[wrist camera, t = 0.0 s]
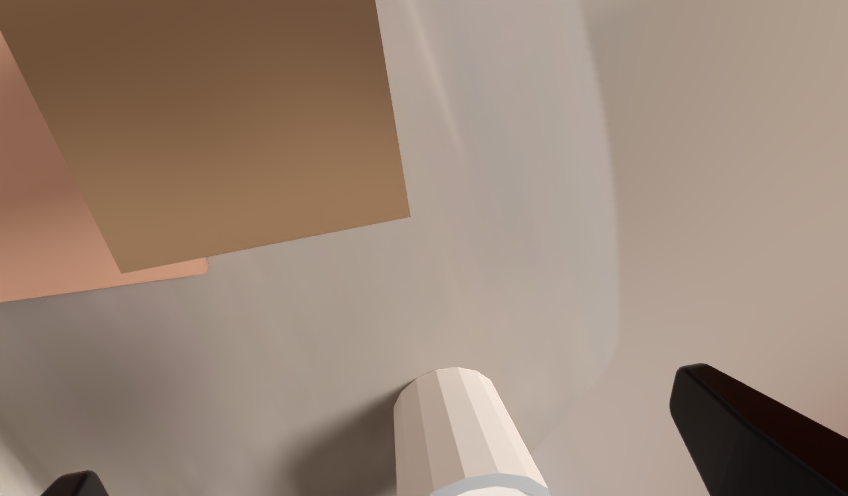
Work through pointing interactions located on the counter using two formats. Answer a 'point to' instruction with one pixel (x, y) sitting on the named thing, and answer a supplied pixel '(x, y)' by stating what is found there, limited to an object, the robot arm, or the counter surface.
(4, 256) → the terracotta tile
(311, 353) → the counter surface
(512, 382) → the counter surface
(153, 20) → the walnut block
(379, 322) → the counter surface
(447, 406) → the white cup
